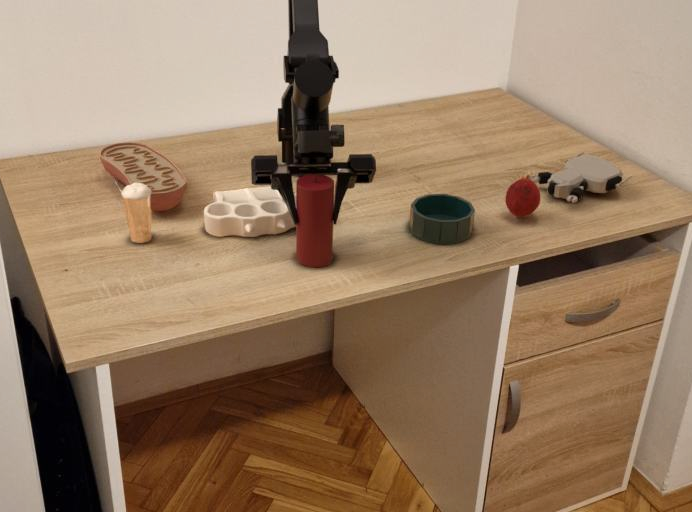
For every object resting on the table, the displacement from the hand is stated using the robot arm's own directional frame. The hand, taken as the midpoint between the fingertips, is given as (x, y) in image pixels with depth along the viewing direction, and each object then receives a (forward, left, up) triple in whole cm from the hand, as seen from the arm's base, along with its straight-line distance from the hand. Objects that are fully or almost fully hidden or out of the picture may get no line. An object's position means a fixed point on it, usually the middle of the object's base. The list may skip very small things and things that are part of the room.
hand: (315, 223), depth 141 cm
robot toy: (+32, +44, -7) cm, 55 cm away
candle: (-1, +1, -7) cm, 7 cm away
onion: (+25, +29, -7) cm, 39 cm away
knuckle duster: (-15, +9, -7) cm, 19 cm away
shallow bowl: (+14, +19, -7) cm, 25 cm away
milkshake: (-29, -5, -7) cm, 30 cm away
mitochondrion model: (-37, +10, -7) cm, 39 cm away
